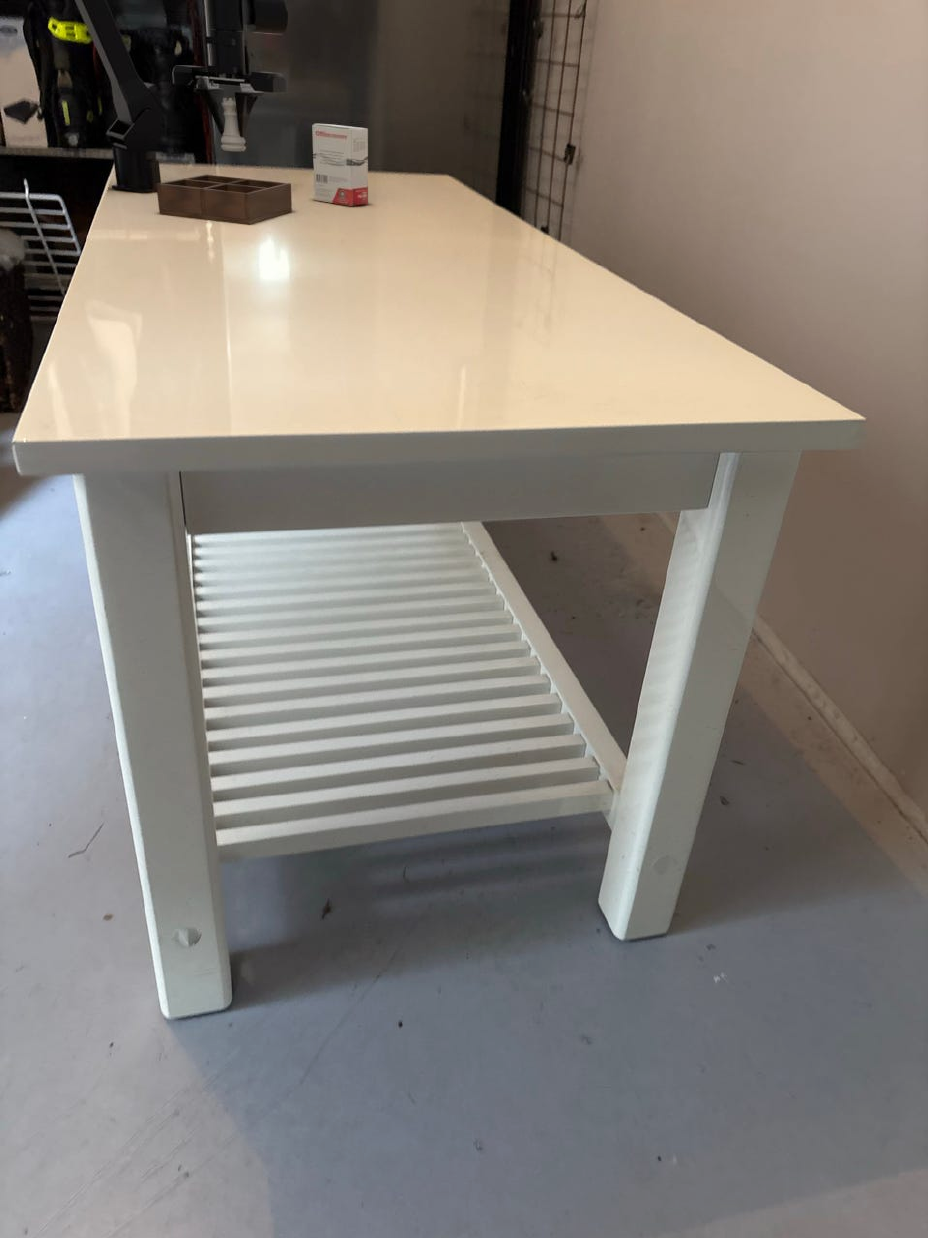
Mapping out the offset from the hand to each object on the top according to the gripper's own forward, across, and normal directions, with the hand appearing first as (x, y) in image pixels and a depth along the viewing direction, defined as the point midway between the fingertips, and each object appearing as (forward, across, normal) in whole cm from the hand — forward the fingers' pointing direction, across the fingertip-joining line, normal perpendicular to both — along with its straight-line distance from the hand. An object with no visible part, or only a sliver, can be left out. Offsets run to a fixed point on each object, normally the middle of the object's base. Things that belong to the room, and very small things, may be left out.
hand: (232, 135), depth 159 cm
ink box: (+8, -22, +4) cm, 24 cm away
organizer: (+8, -12, +26) cm, 30 cm away
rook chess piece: (+2, 0, 0) cm, 2 cm away
